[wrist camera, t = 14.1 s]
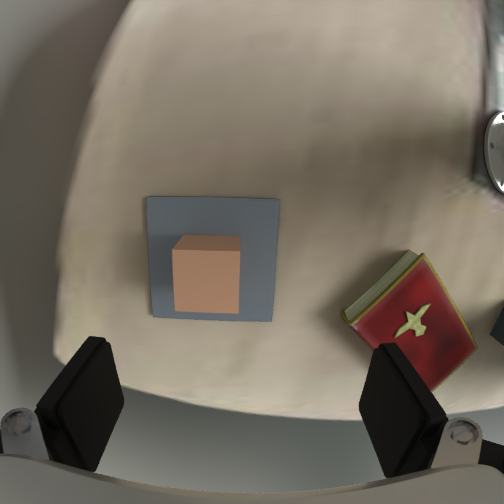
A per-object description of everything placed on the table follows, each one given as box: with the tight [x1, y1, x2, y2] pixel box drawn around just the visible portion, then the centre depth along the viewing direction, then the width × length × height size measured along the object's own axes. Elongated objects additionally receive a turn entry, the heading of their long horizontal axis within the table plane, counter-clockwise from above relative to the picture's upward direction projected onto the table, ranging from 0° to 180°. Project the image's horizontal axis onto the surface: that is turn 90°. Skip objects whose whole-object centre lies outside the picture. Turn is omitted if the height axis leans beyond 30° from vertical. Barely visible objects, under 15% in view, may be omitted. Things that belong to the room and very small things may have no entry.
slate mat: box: [147, 196, 280, 322], centre depth 34 cm, size 14×14×1 cm
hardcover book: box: [340, 250, 478, 392], centre depth 37 cm, size 12×21×4 cm, turn 44°
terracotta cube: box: [172, 235, 240, 314], centre depth 31 cm, size 6×6×6 cm
